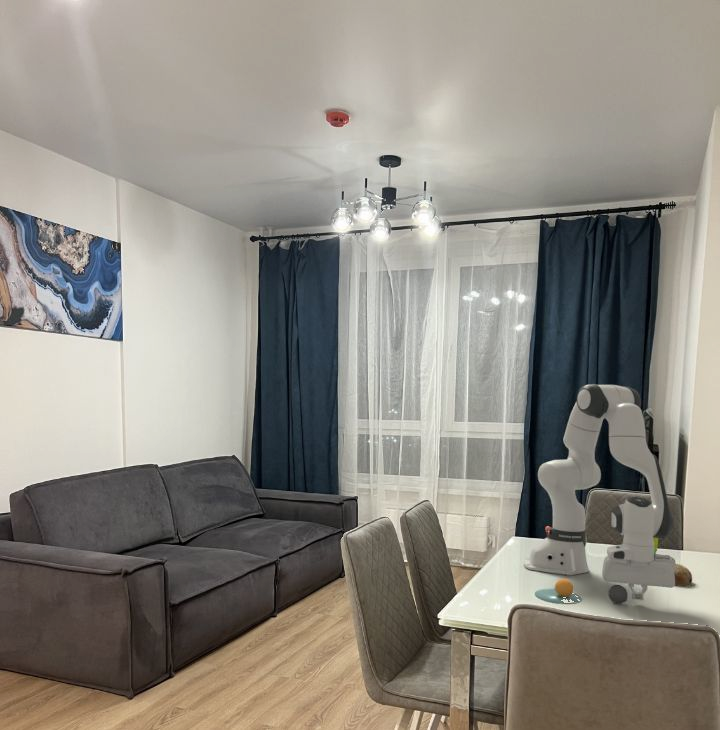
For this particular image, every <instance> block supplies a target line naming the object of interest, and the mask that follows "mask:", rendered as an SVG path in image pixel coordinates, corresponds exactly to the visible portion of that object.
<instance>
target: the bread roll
mask: <svg viewBox="0 0 720 730" xmlns="http://www.w3.org/2000/svg"><path fill="white" fill-rule="evenodd" d="M674 576H675V585H674V586H678V585H679V587H688V586H687V585H691V586H692V584H693V575H692V573H691V571H690V570H689V569H688V568H687V567H685V566H683V564H678V563H676V567H675V569H674Z"/></svg>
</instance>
